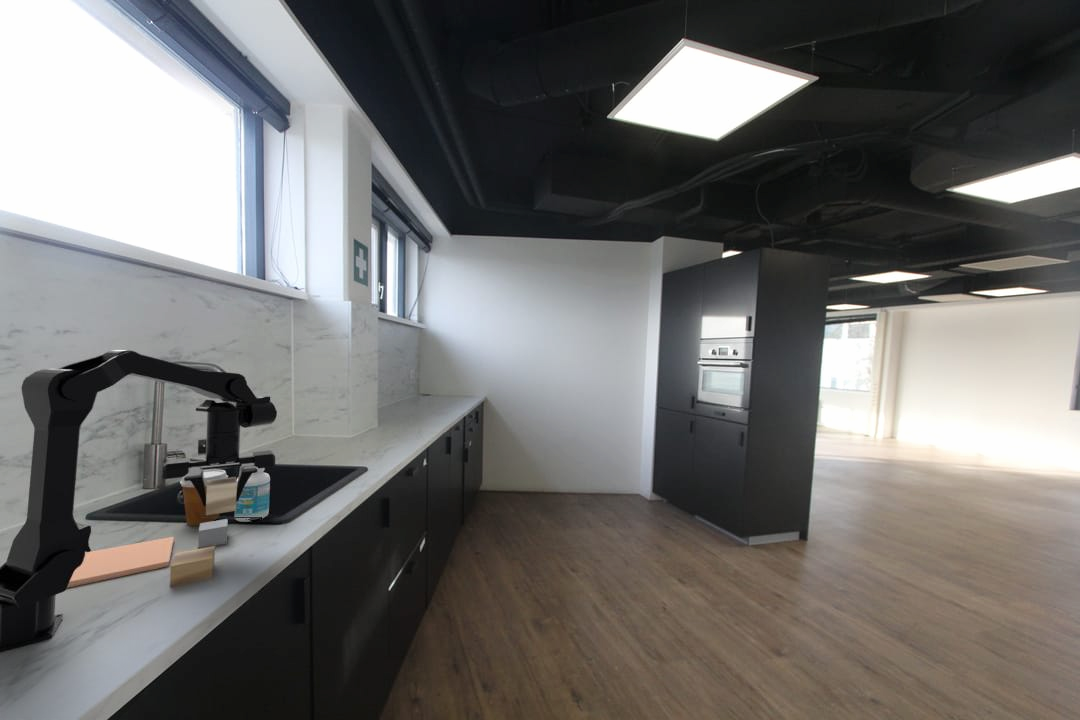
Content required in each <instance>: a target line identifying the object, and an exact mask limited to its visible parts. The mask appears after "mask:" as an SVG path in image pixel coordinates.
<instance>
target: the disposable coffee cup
mask: <svg viewBox="0 0 1080 720" xmlns="http://www.w3.org/2000/svg"><path fill="white" fill-rule="evenodd" d="M203 474H204V483H205V490H206V494H207V480H215V479H223V478H229V475H227V471H226V470H223V469H206V470H203ZM179 484H180V486H181V487H182V494H183V495H182V496H183V502H184V510H185V517H186V524H187V525H188V526H200V523H205V522H211V521H214V519H218V518H200V517H219V518H220V513H218V514H212V515H206V506H205V507H204V506H203V503H202V501H201V499H200V496H199V494H198V492H197V490H196V488H195V487H194V485H193V484H192V482H191V481H184V477H181V480H180V481H179ZM218 520H219V519H218Z"/></svg>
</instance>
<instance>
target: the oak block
mask: <svg viewBox="0 0 1080 720" xmlns="http://www.w3.org/2000/svg"><path fill="white" fill-rule="evenodd" d="M215 555H216V545H214V546H208V547H203V548H196V549H191V550H185V551H179V552H175V555H174V556H173V560H172V562H171V563H170V569H169V570H170V572H169V574H170V576H169V578H170V580H169V587H170V588H171V587H177V586H180V585H185V584H190V583H195V582H199V581H205V580H209V579H213V574H214V568H215V563H216V562H215V561H216V556H215Z"/></svg>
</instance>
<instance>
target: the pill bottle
mask: <svg viewBox="0 0 1080 720" xmlns="http://www.w3.org/2000/svg"><path fill="white" fill-rule="evenodd" d="M257 470H258V472H256V473H252V474H251V476H250V478H249V479H248V481H247V482H246V484H245V486H244V488H243V491H242V493H241V495H240V498H239V500H238V502H236V511H234V520H236V521H237V522H240V523H248V522H249V523H250V522H251V521H250V520H248V519H250V518H235V517H262V519H264V518H266V517H267V516H268V515H269V510H270V494H271V493H270V491H271V477H270V474H269V473H267V472H264V471H265V470H266V468H259V469H258V468H257ZM238 478H239V476H238V477H236V481H237V483H238ZM246 519H247V520H246Z"/></svg>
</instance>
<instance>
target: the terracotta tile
mask: <svg viewBox="0 0 1080 720" xmlns="http://www.w3.org/2000/svg"><path fill="white" fill-rule="evenodd" d="M174 541H175V537H174V536H169V537H165V538H159V539H153V540H149V541H148V540H147V541H143V542H136V543H132V544H125V545H120V546H113V547H108V548H104V549H103V548H102V549H98V550H93V551H92V550H91V551H90V552H85V557H84V561H83V563H82V564H81V566H79V567H78V568H77V569H76V570H75V571H74V573H73V575H72V577H71V579H70V582H69V584H68V586H67V588H66V589H68V588H72V587H76V586H81V585H86V584H91V583H95V582H101V581H104V580H109V579H115V578H119V577H125V576H128V575H133V574H134V575H135V574H138V573H144V572H147V571H153V570H156V569H161V568H162V569H163V568H166V567H169V565H170V562H171V557H172V553H173V552H172V551H173V547H174Z"/></svg>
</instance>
